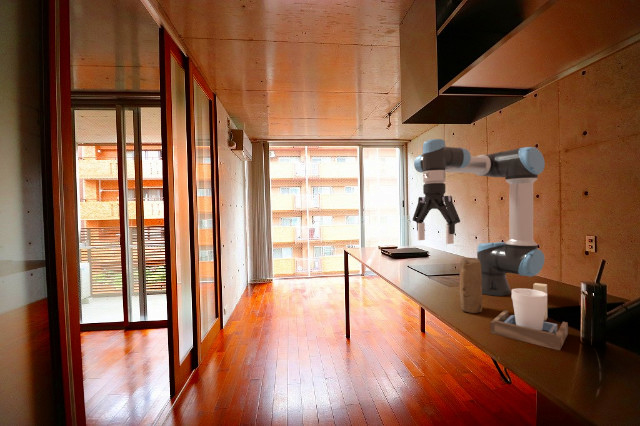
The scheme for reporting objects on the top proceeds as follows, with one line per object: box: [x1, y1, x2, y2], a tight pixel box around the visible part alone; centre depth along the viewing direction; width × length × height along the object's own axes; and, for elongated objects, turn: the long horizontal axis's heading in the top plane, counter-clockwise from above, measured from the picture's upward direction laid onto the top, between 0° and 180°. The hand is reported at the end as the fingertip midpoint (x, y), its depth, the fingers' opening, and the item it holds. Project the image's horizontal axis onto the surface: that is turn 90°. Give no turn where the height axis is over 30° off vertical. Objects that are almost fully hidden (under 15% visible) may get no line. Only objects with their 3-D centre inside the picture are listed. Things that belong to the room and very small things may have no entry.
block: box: [459, 257, 483, 314], centre depth 121 cm, size 11×8×20 cm
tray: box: [505, 282, 558, 335], centre depth 102 cm, size 25×13×12 cm, turn 135°
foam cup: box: [511, 288, 548, 331], centre depth 98 cm, size 10×9×13 cm
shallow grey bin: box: [489, 309, 569, 351], centre depth 97 cm, size 16×18×4 cm
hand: (434, 241), depth 112 cm, fingers open, 13 cm apart
